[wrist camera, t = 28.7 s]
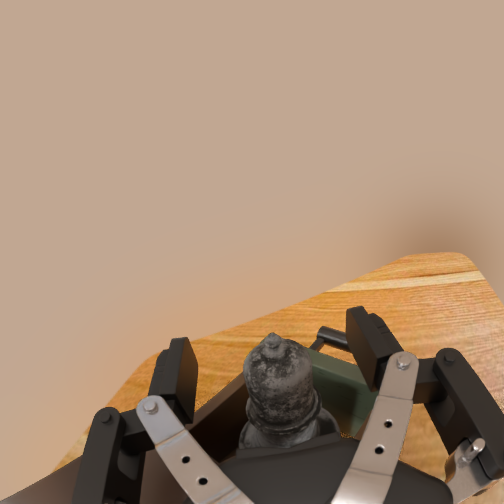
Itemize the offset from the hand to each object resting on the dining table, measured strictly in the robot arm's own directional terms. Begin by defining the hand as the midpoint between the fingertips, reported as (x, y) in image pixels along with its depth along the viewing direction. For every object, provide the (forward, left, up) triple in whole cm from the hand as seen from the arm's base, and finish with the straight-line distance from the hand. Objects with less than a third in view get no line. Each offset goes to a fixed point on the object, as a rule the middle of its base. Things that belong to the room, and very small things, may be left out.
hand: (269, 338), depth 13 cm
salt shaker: (0, -2, -10) cm, 10 cm away
